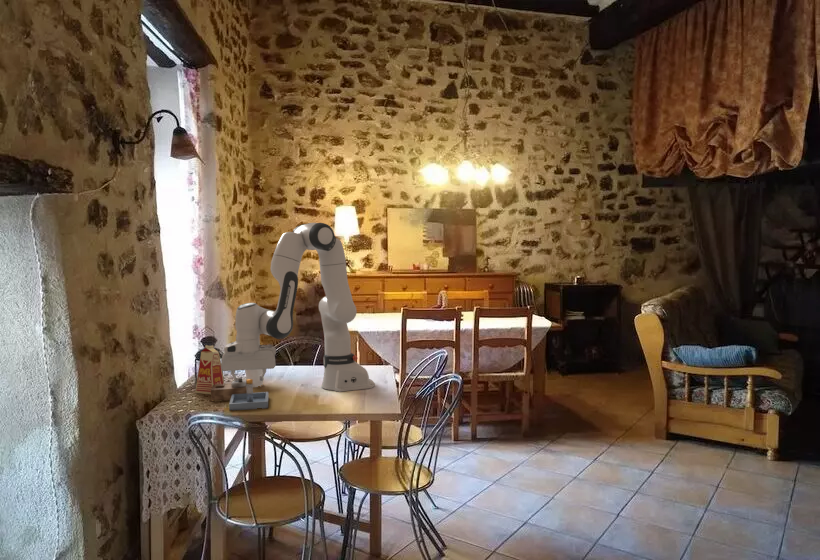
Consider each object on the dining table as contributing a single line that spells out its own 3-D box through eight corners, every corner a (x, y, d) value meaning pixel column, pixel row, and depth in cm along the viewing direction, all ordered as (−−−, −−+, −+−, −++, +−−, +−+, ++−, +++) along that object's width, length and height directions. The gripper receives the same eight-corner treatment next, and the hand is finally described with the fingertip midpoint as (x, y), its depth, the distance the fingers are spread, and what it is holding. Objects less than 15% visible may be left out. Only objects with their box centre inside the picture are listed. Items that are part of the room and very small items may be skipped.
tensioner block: (250, 393, 246) (249, 375, 246) (249, 398, 239) (248, 380, 238) (213, 395, 243) (212, 377, 243) (211, 401, 236) (210, 382, 235)
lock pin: (253, 401, 233) (252, 378, 232) (253, 403, 231) (252, 380, 230) (247, 401, 232) (246, 379, 232) (246, 403, 230) (245, 380, 229)
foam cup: (265, 381, 265) (264, 352, 264) (267, 387, 257) (266, 357, 255) (243, 383, 262) (242, 354, 261) (244, 388, 254) (243, 358, 252)
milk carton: (214, 394, 245) (213, 346, 244) (194, 393, 247) (192, 345, 246) (226, 388, 254) (224, 342, 253) (206, 387, 256) (204, 341, 254)
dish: (268, 397, 240) (268, 391, 240) (267, 408, 226) (267, 401, 226) (232, 400, 237) (232, 394, 237) (229, 410, 223) (229, 404, 223)
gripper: (275, 342, 235) (276, 377, 236) (221, 345, 231) (222, 380, 232) (275, 345, 229) (276, 381, 230) (219, 348, 224) (221, 384, 226)
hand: (249, 381), depth 231 cm, fingers open, 8 cm apart
